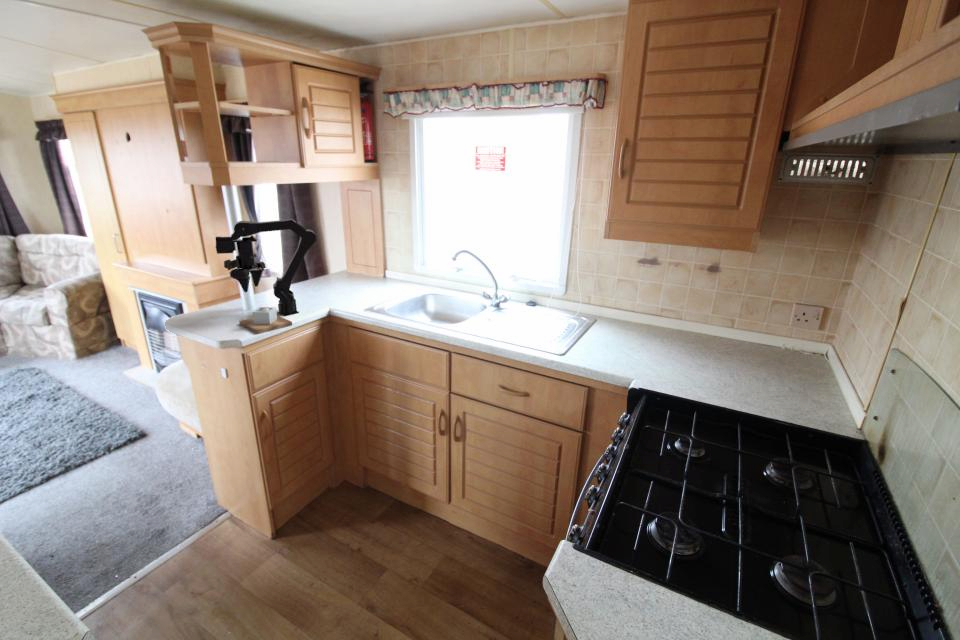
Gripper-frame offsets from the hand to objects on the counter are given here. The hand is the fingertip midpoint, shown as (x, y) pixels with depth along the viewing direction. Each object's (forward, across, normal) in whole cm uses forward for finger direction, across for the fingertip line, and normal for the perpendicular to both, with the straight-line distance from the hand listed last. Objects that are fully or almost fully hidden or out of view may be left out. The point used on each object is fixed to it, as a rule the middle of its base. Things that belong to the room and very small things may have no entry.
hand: (251, 289), depth 191 cm
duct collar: (+10, +10, +10) cm, 18 cm away
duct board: (+12, +10, +9) cm, 19 cm away
